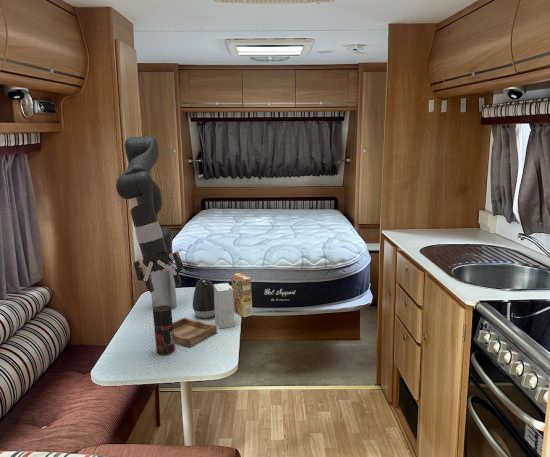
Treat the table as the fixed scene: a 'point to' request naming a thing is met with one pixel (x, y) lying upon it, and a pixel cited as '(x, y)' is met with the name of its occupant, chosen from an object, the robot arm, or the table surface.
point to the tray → (191, 332)
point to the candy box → (242, 294)
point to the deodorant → (163, 330)
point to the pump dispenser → (204, 299)
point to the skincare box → (224, 305)
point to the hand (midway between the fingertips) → (165, 288)
